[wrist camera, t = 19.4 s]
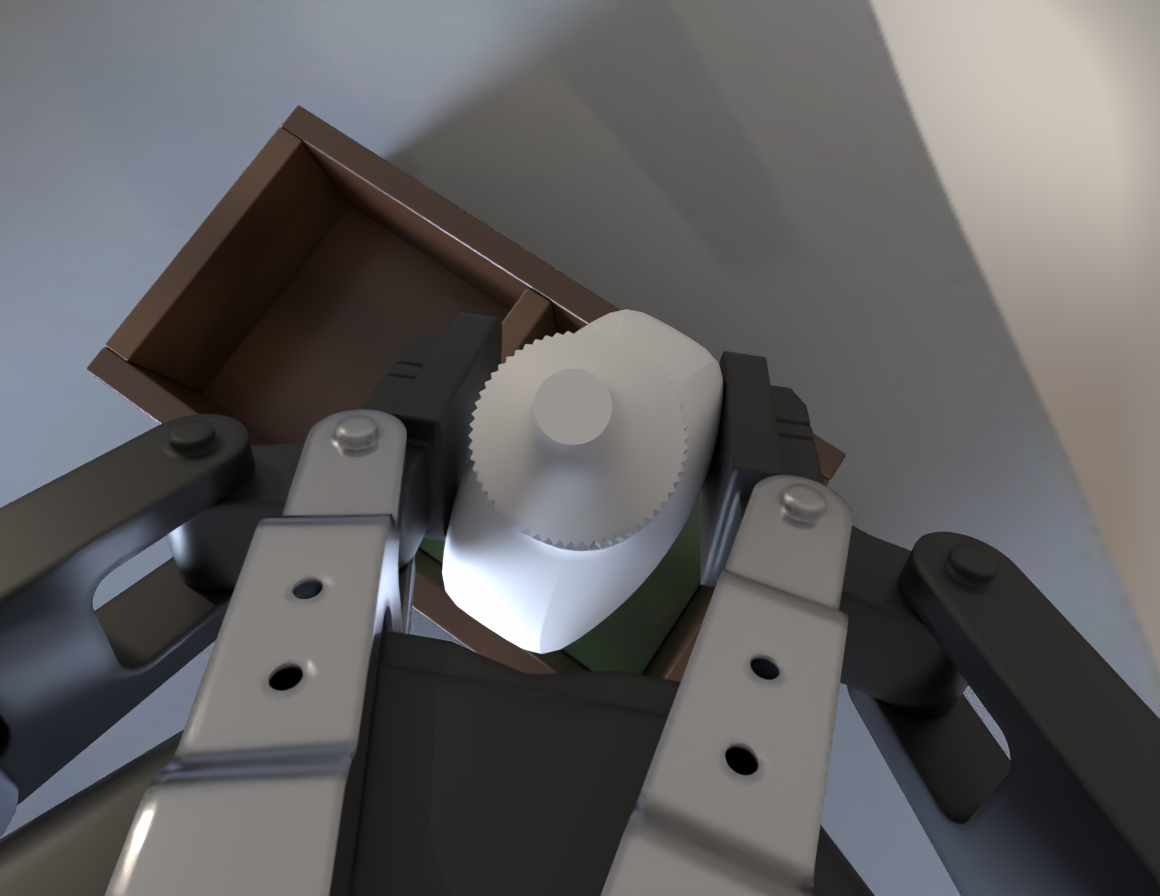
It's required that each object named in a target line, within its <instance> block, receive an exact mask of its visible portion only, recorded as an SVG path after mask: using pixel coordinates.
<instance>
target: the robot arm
mask: <svg viewBox="0 0 1160 896" xmlns="http://www.w3.org/2000/svg"><path fill="white" fill-rule="evenodd" d="M501 354H502V323H501V319H500V318H497V317H491V316H484V315H477V314H470V313H463V312H460V313H458V314H457V316H456V317H455V319H454V320H453V322H452V323H451V325H450V326H449V328H448V329H447V331H446V332H445V334H444V335H443V336H438V335H431V334H427V335H425V336H423V337H422V338H420V339H418V340H416V341H414V342H412V343H411V344H409V345H407V346H406V348H405V349H404V350H403V352H402V353H401V354H400V356H399V357H398V358H397V360H396V363H394V364H393V365H392V366H391V368H390V369H389V370H388V372H387V376H384V377H383V378H382V380H381V381H380V382H379V384H378V385H377V386H376V388H375V389H374V390H373V392H372V393H371V394H370V396H369V397H368V398H367V400H366V401H365V402H364V404H363V405H362V406H361V408H360V409H359V410H349V411H344V412H339V413H336V414H333V415H330V416H328V417H326V418H324V419H322V420H321V421H319V422H318V423H317V424H315V425H314V426H313V427H312V428H311V430H310V431H309V433H308V435H307V438H306V441H305V442H303V443H294V444H276V445H254V446H251V444H250V440H249V436H248V432H247V429H246V427H245V426H244V425H243V424H242V423H241V422H240V421H238V420H236V419H234V418H231V417H228V416H224V415H217V414H198V415H190V416H185V417H181V418H177V419H173V420H171V421H168V422H165V423H163V424H161V425H159V426H157V427H155V428H153V429H151V430H149V431H147V432H145V433H143V434H141V435H140V436H138V437H136V438H134V439H132V440H130V441H128V442H126V443H124V444H122V445H120V446H118V447H117V448H115V449H113V450H111V451H109V452H107V453H105V454H103V455H101V456H99V457H97V458H95V459H94V460H92V461H90V462H88V463H86V464H84V465H82V466H80V467H78V468H76V469H74V470H72V471H71V472H69V473H67V474H65V475H63V476H61V477H59V478H57V479H55V480H53V481H51V482H49V483H48V484H46V485H44V486H42V487H40V488H38V489H36V490H34V491H32V492H30V493H28V494H26V495H25V496H23V497H21V498H19V499H17V500H15V501H13V502H11V503H9V504H7V505H5V506H3V507H2V508H0V837H1V836H2V835H3V833H4V832H5V830H6V829H7V827H8V825H9V824H10V822H11V820H12V817H13V815H14V813H15V810H16V806H17V805H18V804H20V803H21V802H22V801H23V800H24V799H26V798H27V797H28V796H29V795H30V794H32V793H33V792H34V791H35V790H36V789H38V788H39V787H40V786H41V785H42V784H44V783H45V782H46V781H47V780H48V779H50V778H51V777H52V776H53V775H54V774H56V773H57V772H58V771H59V770H60V769H62V768H63V767H64V766H65V765H66V764H68V763H69V762H70V761H71V760H72V759H73V758H75V757H76V756H77V755H78V754H79V753H81V752H82V751H83V750H84V749H85V748H87V747H88V746H89V745H90V744H91V743H93V742H94V741H95V740H96V739H97V738H99V737H100V736H101V735H102V734H103V733H105V732H106V731H107V730H108V729H109V728H111V727H112V726H113V725H114V724H115V723H117V722H118V721H119V720H120V719H121V718H123V717H124V716H125V715H126V714H127V713H129V712H130V711H131V710H132V709H133V708H135V707H136V706H137V705H138V704H139V703H141V702H142V701H143V700H144V699H145V698H147V697H148V696H149V695H150V694H151V693H153V692H154V691H155V690H156V689H157V688H158V687H160V686H161V685H162V684H163V683H164V682H166V681H167V680H168V679H169V678H170V677H172V676H173V675H174V674H175V673H176V672H178V671H179V670H180V669H181V668H182V667H184V666H185V665H186V664H187V663H188V662H190V661H191V660H192V659H193V658H194V657H196V656H197V655H198V654H199V653H200V652H202V651H203V650H204V649H205V648H206V647H208V646H209V645H210V644H211V643H212V642H214V641H215V640H216V642H215V645H214V648H213V650H212V653H211V656H210V659H209V662H208V664H207V667H206V670H205V673H204V676H203V678H202V681H201V684H200V687H199V690H198V692H197V695H196V698H195V701H194V704H193V706H192V709H191V712H190V715H189V718H188V720H187V723H186V726H185V729H184V730H182V731H181V732H179V733H177V734H176V735H174V736H172V737H171V738H169V739H167V740H166V741H164V742H162V743H161V744H159V745H157V746H156V747H154V748H152V749H151V750H149V751H147V752H146V753H144V754H142V755H141V756H139V757H137V758H136V759H134V760H132V761H131V762H129V763H127V764H126V765H124V766H122V767H121V768H119V769H117V770H115V771H114V772H112V773H110V774H109V775H107V776H105V777H104V778H102V779H100V780H99V781H97V782H95V783H94V784H92V785H90V786H89V787H87V788H85V789H84V790H82V791H80V792H79V793H77V794H75V795H74V796H72V797H70V798H69V799H67V800H65V801H64V802H62V803H60V804H58V805H57V806H55V807H53V808H52V809H50V810H48V811H47V812H45V813H43V814H42V815H40V816H38V817H37V818H35V819H33V820H32V821H30V822H28V823H27V824H25V825H23V826H22V827H20V828H18V829H17V830H15V831H13V832H12V833H10V834H8V835H7V836H5V837H3V838H1V839H0V896H875V895H874V894H873V893H872V891H871V890H870V889H869V888H868V886H867V885H866V884H865V882H864V881H863V880H862V878H861V877H860V876H859V874H858V873H857V872H856V870H855V869H854V868H853V867H852V865H851V864H850V863H849V861H848V860H847V859H846V857H845V856H844V855H843V853H842V852H841V851H840V849H839V848H838V847H837V845H836V844H835V843H834V842H833V840H832V839H831V838H830V836H829V835H828V834H827V832H826V831H825V830H824V828H823V827H822V826H821V824H820V823H821V816H822V809H823V802H824V794H825V787H826V780H827V773H828V765H829V758H830V751H831V744H832V736H833V729H834V722H835V715H836V707H837V700H838V693H839V686H840V682H841V683H844V684H846V685H847V689H848V692H849V696H850V698H851V700H852V702H853V704H854V706H855V707H856V709H857V711H858V713H859V715H860V716H861V718H862V720H863V722H864V723H865V725H866V727H867V729H868V731H869V732H870V734H871V736H872V738H873V740H874V741H875V743H876V745H877V747H878V748H879V750H880V752H881V754H882V756H883V757H884V759H885V761H886V763H887V765H888V766H889V768H890V770H891V772H892V773H893V775H894V777H895V779H896V781H897V782H898V784H899V786H900V788H901V790H902V791H903V793H904V795H905V797H906V798H907V800H908V802H909V804H910V806H911V807H912V809H913V811H914V813H915V815H916V816H917V818H918V820H919V822H920V823H921V825H922V827H923V829H924V831H925V832H926V834H927V836H928V838H929V840H930V841H931V843H932V845H933V847H934V849H935V850H936V852H937V854H938V856H939V857H940V859H941V861H942V863H943V865H944V866H945V868H946V870H947V872H948V874H949V875H950V877H951V879H952V881H953V882H954V884H955V886H956V888H957V890H958V891H959V893H960V895H961V896H1160V719H1159V718H1158V717H1157V716H1156V715H1155V714H1154V712H1153V711H1152V710H1151V709H1150V708H1149V707H1148V706H1147V705H1146V704H1145V703H1144V702H1143V701H1142V700H1141V699H1140V697H1139V696H1138V695H1137V694H1136V693H1135V692H1134V691H1133V690H1132V689H1131V688H1130V687H1129V686H1128V685H1127V684H1126V683H1125V681H1124V680H1123V679H1122V678H1121V677H1120V676H1119V675H1118V674H1117V673H1116V672H1115V671H1114V670H1113V669H1112V668H1111V666H1110V665H1109V664H1108V663H1107V662H1106V661H1105V660H1104V659H1103V658H1102V657H1101V656H1100V655H1099V654H1098V653H1097V651H1096V650H1095V649H1094V648H1093V647H1092V646H1091V645H1090V644H1089V643H1088V642H1087V641H1086V640H1085V639H1084V638H1083V636H1082V635H1081V634H1080V633H1079V632H1078V631H1077V630H1076V629H1075V628H1074V627H1073V626H1072V625H1071V624H1070V623H1069V621H1068V620H1067V619H1066V618H1065V617H1064V616H1063V615H1062V614H1061V613H1060V612H1059V611H1058V610H1057V609H1056V608H1055V607H1054V605H1053V604H1052V603H1051V602H1050V601H1049V600H1048V599H1047V598H1046V597H1045V596H1044V595H1043V594H1042V593H1041V592H1040V590H1039V589H1038V588H1037V587H1036V586H1035V585H1034V584H1033V583H1032V582H1031V581H1030V580H1029V579H1028V578H1027V577H1026V575H1025V574H1024V573H1023V572H1022V571H1021V570H1020V569H1019V568H1018V567H1017V566H1016V565H1015V564H1014V563H1013V562H1012V561H1011V560H1010V559H1009V558H1008V557H1006V556H1005V555H1004V554H1003V553H1001V552H1000V551H998V550H997V549H995V548H993V547H992V546H990V545H988V544H986V543H984V542H982V541H980V540H977V539H975V538H972V537H969V536H966V535H962V534H958V533H952V532H933V533H929V534H926V535H924V536H922V537H921V538H919V539H918V541H917V542H916V543H915V545H914V547H913V549H912V551H910V550H907V549H905V548H902V547H899V546H897V545H894V544H891V543H889V542H886V541H883V540H881V539H878V538H876V537H873V536H871V535H869V534H867V533H865V532H863V531H861V530H859V529H858V528H856V527H854V526H853V525H852V523H853V517H852V513H851V510H850V508H849V506H848V505H847V503H846V502H845V501H844V500H843V499H842V498H841V497H840V496H839V495H838V494H837V493H835V492H834V491H833V490H831V489H830V488H828V487H826V486H825V483H824V478H823V474H822V470H821V466H820V462H819V457H818V453H817V449H816V445H815V442H814V441H813V439H814V436H813V432H812V428H811V427H810V420H809V415H808V411H807V407H806V405H805V404H804V403H803V402H802V400H801V399H800V398H799V397H798V396H797V395H796V394H795V393H794V392H793V390H792V389H791V388H785V387H778V386H772V385H770V380H769V374H768V368H767V362H766V358H765V357H761V356H755V355H748V354H741V353H734V352H727V351H724V352H723V354H722V356H721V359H720V363H719V366H720V370H721V373H722V377H723V404H722V413H721V420H720V426H719V432H718V437H717V441H716V445H715V449H714V453H713V457H712V460H711V464H710V467H709V470H708V473H707V476H706V479H705V481H704V484H703V486H702V489H701V491H700V543H701V585H706V586H712V587H715V590H714V593H713V595H712V598H711V601H710V604H709V606H708V609H707V612H706V615H705V617H704V620H703V623H702V625H701V628H700V631H699V634H698V636H697V639H696V642H695V645H694V647H693V650H692V653H691V656H690V658H689V661H688V664H687V666H686V669H685V672H684V675H683V677H682V680H681V682H679V681H673V680H667V679H662V678H656V677H650V676H645V675H639V674H633V673H627V672H622V671H596V672H576V673H555V674H528V673H524V672H521V671H518V670H516V669H514V668H511V667H509V666H507V665H504V664H502V663H500V662H497V661H495V660H493V659H490V658H488V657H486V656H483V655H481V654H479V653H476V652H474V651H472V650H469V649H467V648H465V647H462V646H460V645H458V644H455V643H453V642H450V641H444V640H439V639H433V638H427V637H422V636H416V635H410V629H411V617H412V605H413V594H414V582H415V570H416V567H415V553H416V551H417V549H418V547H419V545H420V543H421V541H422V539H423V538H427V539H433V540H439V541H444V540H445V537H446V535H447V530H448V525H449V521H450V516H451V512H452V508H453V505H454V501H455V498H456V494H457V491H458V488H459V486H460V483H461V480H462V477H463V475H464V472H465V470H466V467H467V465H468V463H469V460H470V457H471V455H472V453H473V451H472V450H471V449H470V448H468V447H469V446H470V444H471V443H472V441H473V440H472V439H471V438H470V437H469V434H470V433H471V432H472V431H473V428H472V427H471V426H470V425H469V424H470V423H471V422H472V421H473V420H474V419H475V418H474V417H473V415H472V414H471V413H473V412H474V411H475V410H476V409H477V406H476V404H475V402H476V401H478V400H479V399H481V396H480V393H479V392H481V391H482V390H484V389H486V386H485V382H487V381H489V380H491V379H492V377H491V373H493V372H496V371H498V365H499V364H501ZM164 536H167V539H168V542H169V544H170V547H171V550H172V553H173V556H174V557H172V558H171V559H169V560H168V561H167V562H165V563H164V564H162V565H161V566H159V567H158V568H156V569H155V570H154V571H152V572H151V573H149V574H148V575H146V576H145V577H143V578H142V579H141V580H139V581H138V582H136V583H135V584H133V585H132V586H130V587H129V588H128V589H126V590H125V591H123V592H122V593H120V594H119V595H117V596H116V597H114V598H113V599H112V600H110V601H109V602H107V603H106V604H104V605H103V606H101V607H100V608H99V609H97V610H96V611H94V610H93V605H92V601H93V596H94V593H95V591H96V588H97V587H98V585H99V584H100V582H101V581H102V580H103V579H104V578H105V577H106V576H107V575H108V574H109V573H110V572H111V571H113V570H114V569H116V568H117V567H119V566H120V565H122V564H123V563H125V562H126V561H128V560H129V559H131V558H132V557H134V556H135V555H137V554H139V553H140V552H142V551H143V550H145V549H146V548H148V547H149V546H151V545H152V544H154V543H155V542H157V541H158V540H160V539H161V538H163V537H164ZM968 685H969V686H970V687H971V689H972V690H973V691H974V693H975V694H976V696H977V697H978V698H979V700H980V701H981V702H982V704H983V705H984V707H985V708H986V709H987V711H988V712H989V713H990V715H991V716H992V718H993V719H994V720H995V722H996V723H997V724H998V726H999V727H1000V729H1001V730H1002V732H1003V734H1004V736H1005V738H1006V740H1007V743H1008V746H1009V750H1010V756H1011V761H1010V760H1009V758H1008V757H1007V755H1006V754H1005V753H1004V751H1003V750H1002V748H1001V747H1000V746H999V744H998V743H997V741H996V740H995V738H994V737H993V736H992V734H991V733H990V731H989V730H988V729H987V727H986V726H985V724H984V723H983V722H982V720H981V719H980V717H979V716H978V714H977V713H976V712H975V710H974V709H973V707H972V706H971V705H970V703H969V702H968V700H967V699H966V698H965V696H964V695H963V692H964V690H965V689H966V687H967V686H968Z"/></svg>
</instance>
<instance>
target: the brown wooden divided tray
mask: <svg viewBox="0 0 1160 896" xmlns="http://www.w3.org/2000/svg"><path fill="white" fill-rule="evenodd" d="M616 311H620V310H619V309H618V308H616V307H614V306H613V305H611V304H610V303H608V302H607V301H605V300H603V299H602V298H600V297H599V296H597V295H596V294H594V293H593V292H591V291H589V290H588V289H586V288H585V287H583V286H582V285H580V284H578V283H577V282H575V281H574V280H572V279H571V278H569V277H567V276H566V275H564V274H563V273H561V272H560V271H558V270H556V269H555V268H553V267H552V266H550V265H549V264H547V263H545V262H544V261H542V260H541V259H539V258H538V257H536V256H535V255H533V254H531V253H530V252H528V251H527V250H525V249H524V248H522V247H520V246H519V245H517V244H516V243H514V242H513V241H511V240H509V239H508V238H506V237H505V236H503V235H502V234H500V233H498V232H497V231H495V230H494V229H492V228H491V227H489V226H487V225H486V224H484V223H483V222H481V221H480V220H478V219H477V218H475V217H473V216H472V215H470V214H469V213H467V212H466V211H464V210H462V209H461V208H459V207H458V206H456V205H455V204H453V203H451V202H450V201H448V200H447V199H445V198H444V197H442V196H440V195H439V194H437V193H436V192H434V191H433V190H431V189H430V188H428V187H426V186H425V185H423V184H422V183H420V182H419V181H417V180H415V179H414V178H412V177H411V176H409V175H408V174H406V173H404V172H403V171H401V170H400V169H398V168H397V167H395V166H393V165H392V164H390V163H389V162H387V161H386V160H384V159H382V158H381V157H379V156H378V155H376V154H375V153H373V152H372V151H370V150H368V149H367V148H365V147H364V146H362V145H361V144H359V143H357V142H356V141H354V140H353V139H351V138H350V137H348V136H346V135H345V134H343V133H342V132H340V131H339V130H337V129H335V128H334V127H332V126H331V125H329V124H328V123H326V122H324V121H323V120H321V119H320V118H318V117H317V116H315V115H314V114H312V113H310V112H309V111H307V110H306V109H304V108H303V107H301V106H297V107H296V108H295V109H294V111H293V112H292V113H291V114H290V116H289V117H288V118H287V119H286V121H285V122H284V123H283V124H282V128H281V127H280V128H279V129H278V130H277V131H276V133H275V134H274V135H273V136H272V138H271V139H270V140H269V141H268V143H267V144H266V145H265V146H264V147H263V149H262V150H261V151H260V152H259V154H258V155H257V156H256V157H255V159H254V160H253V161H252V162H251V164H250V165H249V166H248V167H247V169H246V170H245V171H244V172H243V174H242V175H241V176H240V177H239V179H238V180H237V181H236V182H235V184H234V185H233V186H232V187H231V189H230V190H229V191H228V192H227V194H226V195H225V196H224V197H223V198H222V200H221V201H220V202H219V203H218V205H217V206H216V207H215V208H214V210H213V211H212V212H211V213H210V215H209V216H208V217H207V218H206V220H205V221H204V222H203V223H202V225H201V226H200V227H199V228H198V230H197V231H196V232H195V233H194V235H193V236H192V237H191V238H190V240H189V241H188V242H187V243H186V245H185V246H184V247H183V248H182V249H181V251H180V252H179V253H178V254H177V256H176V257H175V258H174V259H173V261H172V262H171V263H170V264H169V266H168V267H167V268H166V269H165V271H164V272H163V273H162V274H161V276H160V277H159V278H158V279H157V281H156V282H155V283H154V284H153V286H152V287H151V288H150V289H149V291H148V292H147V293H146V294H145V296H144V297H143V298H142V299H141V301H140V302H139V303H138V304H137V305H136V307H135V308H134V309H133V310H132V312H131V313H130V314H129V315H128V317H127V318H126V319H125V320H124V322H123V323H122V324H121V325H120V327H119V328H118V329H117V330H116V332H115V333H114V334H113V335H112V337H111V338H110V339H109V340H108V342H107V343H106V344H105V345H106V347H104V348H103V349H102V350H101V351H100V352H99V354H98V355H97V356H96V357H95V359H94V360H93V361H92V362H91V364H90V365H89V366H88V367H87V371H88V372H89V373H90V374H92V375H93V376H94V377H96V378H97V379H99V380H100V381H101V382H103V383H104V384H105V385H107V386H108V387H110V388H111V389H112V390H114V391H115V392H116V393H118V394H119V395H121V396H122V397H123V398H125V399H126V400H127V401H129V402H130V403H132V404H133V405H134V406H136V407H137V408H138V409H140V410H141V411H143V412H144V413H145V414H147V415H148V416H149V417H151V418H152V419H153V420H155V421H156V422H158V423H159V424H160V425H161V424H163V423H165V422H168V421H171V420H173V419H177V418H181V417H185V416H190V415H198V414H217V415H224V416H228V417H231V418H234V419H236V420H238V421H240V422H241V423H242V424H243V425H244V426H245V427H246V429H247V432H248V436H249V440H250V444H251V446H254V445H276V444H294V443H303V442H305V441H306V438H307V435H308V433H309V431H310V430H311V428H312V427H313V426H314V425H315V424H317V423H318V422H319V421H321V420H322V419H324V418H326V417H328V416H330V415H333V414H336V413H339V412H344V411H349V410H359V409H360V408H361V406H362V405H363V404H364V402H365V401H366V400H367V398H368V397H369V396H370V394H371V393H372V392H373V390H374V389H375V388H376V386H377V385H378V384H379V382H380V381H381V380H382V378H383V377H384V376H387V372H388V370H389V369H390V368H391V366H392V365H393V364H394V363H396V360H397V358H398V357H399V356H400V354H401V353H402V352H403V350H404V349H405V348H406V346H407V345H409V344H411V343H412V342H414V341H416V340H418V339H420V338H422V337H423V336H425V335H427V334H431V335H438V336H443V335H444V334H445V332H446V331H447V329H448V328H449V326H450V325H451V323H452V322H453V320H454V319H455V317H456V316H457V314H458V313H460V312H463V313H470V314H477V315H484V316H491V317H497V318H500V319H501V323H502V354H501V364H503V363H506V358H507V357H510V356H514V354H515V350H523V348H524V346H525V344H530V345H532V344H533V342H534V341H535V339H537V340H543V339H544V337H545V336H546V335H547V336H550V337H553V336H554V335H555V334H556V333H559V334H562V335H564V334H565V333H566V332H567V331H569V332H571V333H573V334H574V333H576V332H577V331H578V330H580V329H582V328H583V327H585V326H586V325H588V324H590V323H591V322H593V321H595V320H597V319H599V318H601V317H603V316H605V315H607V314H609V313H611V312H616ZM107 347H108V348H107ZM813 436H814V439H813V441H814V442H815V445H816V449H817V453H818V457H819V462H820V466H821V470H822V474H823V478H824V483H825V486H827V485H828V481H829V480H830V479H832V477H833V476H834V474H835V472H836V471H837V469H838V468H839V466H840V465H841V463H842V461H843V460H844V458H845V453H843V452H842V451H840V450H839V449H837V448H835V447H834V446H832V445H831V444H829V443H828V442H826V441H824V440H823V439H821V438H820V437H818V436H817V435H815V434H813ZM446 536H447V535H446ZM445 542H446V537H445V540H444V541H439V540H433V539H427V538H423V539H422V541H421V543H420V545H419V547H418V549H417V551H416V553H415V567H416V570H415V582H414V594H413V605H412V608H413V609H414V610H416V611H417V612H418V613H420V614H421V615H423V616H424V617H425V618H427V619H428V620H429V621H431V622H432V623H434V624H435V625H436V626H438V627H439V628H440V629H442V630H443V631H445V632H446V633H447V634H449V635H450V636H451V637H453V638H454V639H456V640H457V641H458V642H460V643H461V644H462V645H464V646H465V647H467V648H468V649H469V650H472V651H474V652H476V653H479V654H481V655H483V656H486V657H488V658H490V659H493V660H495V661H497V662H500V663H502V664H504V665H507V666H509V667H511V668H514V669H516V670H518V671H521V672H524V673H528V674H555V673H576V672H596V671H622V672H627V673H633V674H639V675H645V676H650V677H656V678H662V679H667V680H673V681H679V682H681V680H682V677H683V675H684V672H685V669H686V666H687V664H688V661H689V658H690V656H691V653H692V650H693V647H694V645H695V642H696V639H697V636H698V634H699V631H700V628H701V625H702V623H703V620H704V617H705V615H706V612H707V609H708V606H709V604H710V601H711V598H712V595H713V593H714V590H715V587H712V586H706V585H701V543H700V494H699V496H698V498H697V501H696V503H695V505H694V507H693V509H692V511H691V513H690V515H689V517H688V519H687V521H686V522H685V524H684V526H683V528H682V530H681V531H680V533H679V535H678V536H677V538H676V539H675V541H674V543H673V544H672V546H671V547H670V549H669V550H668V552H667V553H666V554H665V556H664V557H663V558H662V560H661V561H660V562H659V564H658V565H657V567H656V568H655V569H654V570H653V571H652V573H651V574H650V575H649V576H648V577H647V578H646V580H645V581H644V582H643V583H642V584H641V585H640V586H639V587H638V588H637V590H636V591H635V592H634V593H633V594H632V595H631V596H630V597H629V598H628V599H627V600H626V601H625V602H624V603H622V604H621V605H620V606H619V607H618V608H617V609H616V610H615V611H614V612H613V613H611V614H610V615H609V616H608V617H607V618H605V619H604V620H603V621H602V622H600V623H599V624H598V625H597V626H595V627H594V628H593V629H591V630H590V631H589V632H587V633H586V634H584V635H583V636H582V637H580V638H579V639H577V640H576V641H574V642H572V643H570V644H569V645H567V646H565V647H564V648H562V649H560V650H556V651H552V652H548V653H544V654H540V653H537V652H533V651H529V650H525V649H522V648H520V647H518V646H517V645H515V644H513V643H511V642H510V641H508V640H506V639H505V638H503V637H501V636H500V635H498V634H497V633H495V632H494V631H492V630H491V629H489V628H488V627H486V626H485V625H483V624H482V623H480V622H479V621H477V620H476V619H474V618H473V617H471V616H470V615H469V614H467V613H466V612H465V611H463V610H462V609H461V608H459V607H458V606H457V605H456V604H455V603H454V601H453V600H452V599H451V597H450V596H449V595H448V594H447V592H446V590H445V585H444V580H443V575H442V569H443V556H444V548H445Z"/></svg>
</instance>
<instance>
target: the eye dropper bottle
mask: <svg viewBox="0 0 1160 896" xmlns="http://www.w3.org/2000/svg"><path fill="white" fill-rule="evenodd" d="M491 377H492V379H491V380H489V381H487V382H485V386H486V389H484V390H482V391H481V392H479V393H480V396H481V399H479V400H478V401H476V402H475V404H476V406H477V409H476V410H475V411H474V412H473V413H471V414H472V415H473V417H474V418H475V419H474V420H473V421H472V422H471V423H470V424H469V425H470V426H471V427H472V428H473V431H472V432H471V433H470V434H469V437H470V438H471V439H472V440H473V441H472V443H471V444H470V446H469V447H468V448H470V449H471V450H472V451H473V453H472V455H471V457H470V460H469V463H468V465H467V467H466V470H465V472H464V475H463V477H462V480H461V483H460V486H459V488H458V491H457V494H456V498H455V501H454V505H453V508H452V512H451V516H450V521H449V525H448V530H447V536H446V542H445V548H444V556H443V569H442V575H443V580H444V585H445V590H446V592H447V594H448V595H449V596H450V597H451V599H452V600H453V601H454V603H455V604H456V605H457V606H458V607H459V608H461V609H462V610H463V611H465V612H466V613H467V614H469V615H470V616H471V617H473V618H474V619H476V620H477V621H479V622H480V623H482V624H483V625H485V626H486V627H488V628H489V629H491V630H492V631H494V632H495V633H497V634H498V635H500V636H501V637H503V638H505V639H506V640H508V641H510V642H511V643H513V644H515V645H517V646H518V647H520V648H522V649H525V650H529V651H533V652H537V653H540V654H544V653H548V652H552V651H556V650H560V649H562V648H564V647H565V646H567V645H569V644H570V643H572V642H574V641H576V640H577V639H579V638H580V637H582V636H583V635H584V634H586V633H587V632H589V631H590V630H591V629H593V628H594V627H595V626H597V625H598V624H599V623H600V622H602V621H603V620H604V619H605V618H607V617H608V616H609V615H610V614H611V613H613V612H614V611H615V610H616V609H617V608H618V607H619V606H620V605H621V604H622V603H624V602H625V601H626V600H627V599H628V598H629V597H630V596H631V595H632V594H633V593H634V592H635V591H636V590H637V588H638V587H639V586H640V585H641V584H642V583H643V582H644V581H645V580H646V578H647V577H648V576H649V575H650V574H651V573H652V571H653V570H654V569H655V568H656V567H657V565H658V564H659V562H660V561H661V560H662V558H663V557H664V556H665V554H666V553H667V552H668V550H669V549H670V547H671V546H672V544H673V543H674V541H675V539H676V538H677V536H678V535H679V533H680V531H681V530H682V528H683V526H684V524H685V522H686V521H687V519H688V517H689V515H690V513H691V511H692V509H693V507H694V505H695V503H696V501H697V498H698V496H699V494H700V491H701V489H702V486H703V484H704V481H705V479H706V476H707V473H708V470H709V467H710V464H711V460H712V457H713V453H714V449H715V445H716V441H717V437H718V432H719V426H720V420H721V413H722V404H723V377H722V373H721V370H720V366H719V363H718V362H717V361H716V360H715V359H714V357H713V356H712V355H711V354H710V353H709V352H708V351H707V349H705V348H704V347H702V346H701V345H700V344H698V343H697V342H695V341H694V340H692V339H691V338H689V337H687V336H686V335H684V334H682V333H681V332H679V331H677V330H676V329H674V328H672V327H670V326H669V325H667V324H665V323H663V322H661V321H660V320H658V319H656V318H653V317H651V316H649V315H647V314H645V313H643V312H638V311H633V310H628V309H625V310H620V311H616V312H611V313H609V314H607V315H605V316H603V317H601V318H599V319H597V320H595V321H593V322H591V323H590V324H588V325H586V326H585V327H583V328H582V329H580V330H578V331H577V332H576V333H574V334H573V333H571V332H569V331H567V332H566V333H565V334H564V335H562V334H559V333H556V334H555V335H554V336H553V337H550V336H547V335H546V336H545V337H544V339H543V340H537V339H535V341H534V342H533V344H532V345H530V344H525V346H524V348H523V350H515V354H514V356H510V357H507V358H506V363H503V364H499V365H498V371H496V372H493V373H491Z"/></svg>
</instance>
